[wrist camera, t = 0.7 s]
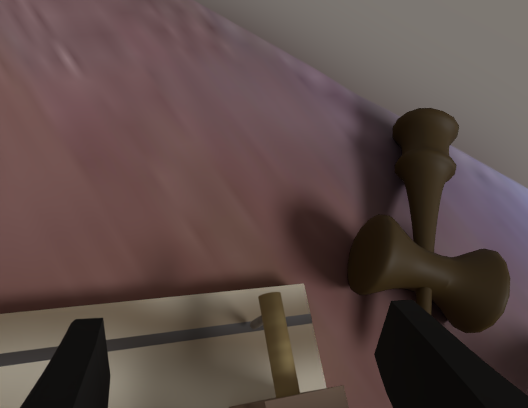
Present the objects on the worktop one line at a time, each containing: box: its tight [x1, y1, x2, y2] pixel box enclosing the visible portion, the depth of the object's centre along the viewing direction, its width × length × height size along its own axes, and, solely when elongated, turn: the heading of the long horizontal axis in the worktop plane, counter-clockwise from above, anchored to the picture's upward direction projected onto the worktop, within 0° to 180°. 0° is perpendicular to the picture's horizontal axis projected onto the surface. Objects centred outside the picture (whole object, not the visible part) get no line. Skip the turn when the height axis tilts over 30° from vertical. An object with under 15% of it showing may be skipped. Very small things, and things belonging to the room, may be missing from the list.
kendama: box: [348, 108, 510, 333], centre depth 34 cm, size 6×10×20 cm
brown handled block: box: [229, 292, 349, 408], centre depth 23 cm, size 10×4×6 cm, turn 11°
